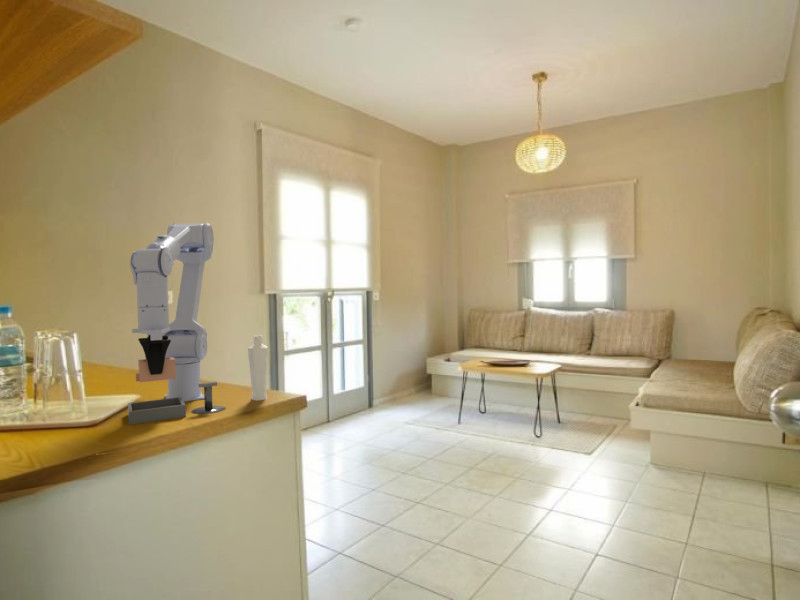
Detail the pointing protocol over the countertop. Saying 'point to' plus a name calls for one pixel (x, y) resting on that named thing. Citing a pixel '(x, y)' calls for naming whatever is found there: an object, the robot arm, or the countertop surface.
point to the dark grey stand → (208, 400)
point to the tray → (156, 410)
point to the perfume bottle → (258, 368)
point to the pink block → (167, 373)
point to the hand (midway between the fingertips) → (155, 372)
